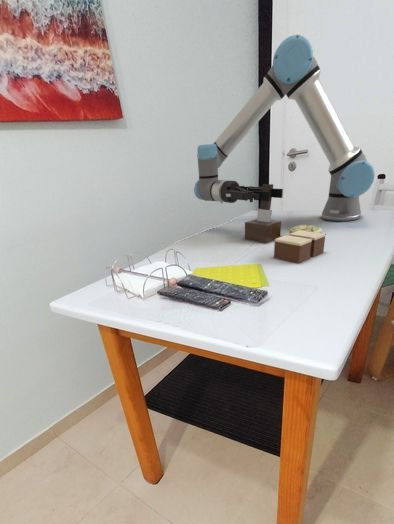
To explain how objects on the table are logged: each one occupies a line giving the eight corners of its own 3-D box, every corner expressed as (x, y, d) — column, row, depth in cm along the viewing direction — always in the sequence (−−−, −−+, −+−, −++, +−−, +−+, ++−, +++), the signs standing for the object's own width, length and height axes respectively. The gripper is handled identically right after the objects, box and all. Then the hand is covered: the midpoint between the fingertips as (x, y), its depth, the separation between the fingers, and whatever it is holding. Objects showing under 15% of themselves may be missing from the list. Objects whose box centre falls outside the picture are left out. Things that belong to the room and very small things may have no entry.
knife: (256, 237, 125) (262, 183, 117) (269, 240, 121) (276, 184, 113) (253, 238, 124) (259, 183, 116) (266, 240, 120) (273, 184, 112)
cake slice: (284, 253, 106) (286, 234, 103) (309, 258, 100) (311, 239, 97) (273, 257, 103) (274, 239, 100) (298, 263, 97) (300, 243, 94)
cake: (298, 248, 110) (300, 230, 107) (323, 252, 104) (325, 233, 101) (288, 252, 107) (289, 233, 104) (312, 257, 101) (315, 237, 98)
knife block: (259, 234, 128) (259, 218, 125) (280, 238, 122) (281, 220, 118) (244, 239, 124) (244, 222, 121) (266, 243, 117) (266, 225, 114)
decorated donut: (314, 243, 113) (316, 231, 111) (284, 240, 119) (285, 229, 117) (324, 235, 120) (326, 224, 118) (295, 233, 126) (296, 222, 124)
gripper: (243, 198, 134) (292, 202, 118) (208, 206, 124) (257, 212, 108) (243, 177, 130) (293, 178, 114) (207, 184, 120) (257, 186, 104)
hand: (275, 194), depth 111 cm, fingers open, 6 cm apart
